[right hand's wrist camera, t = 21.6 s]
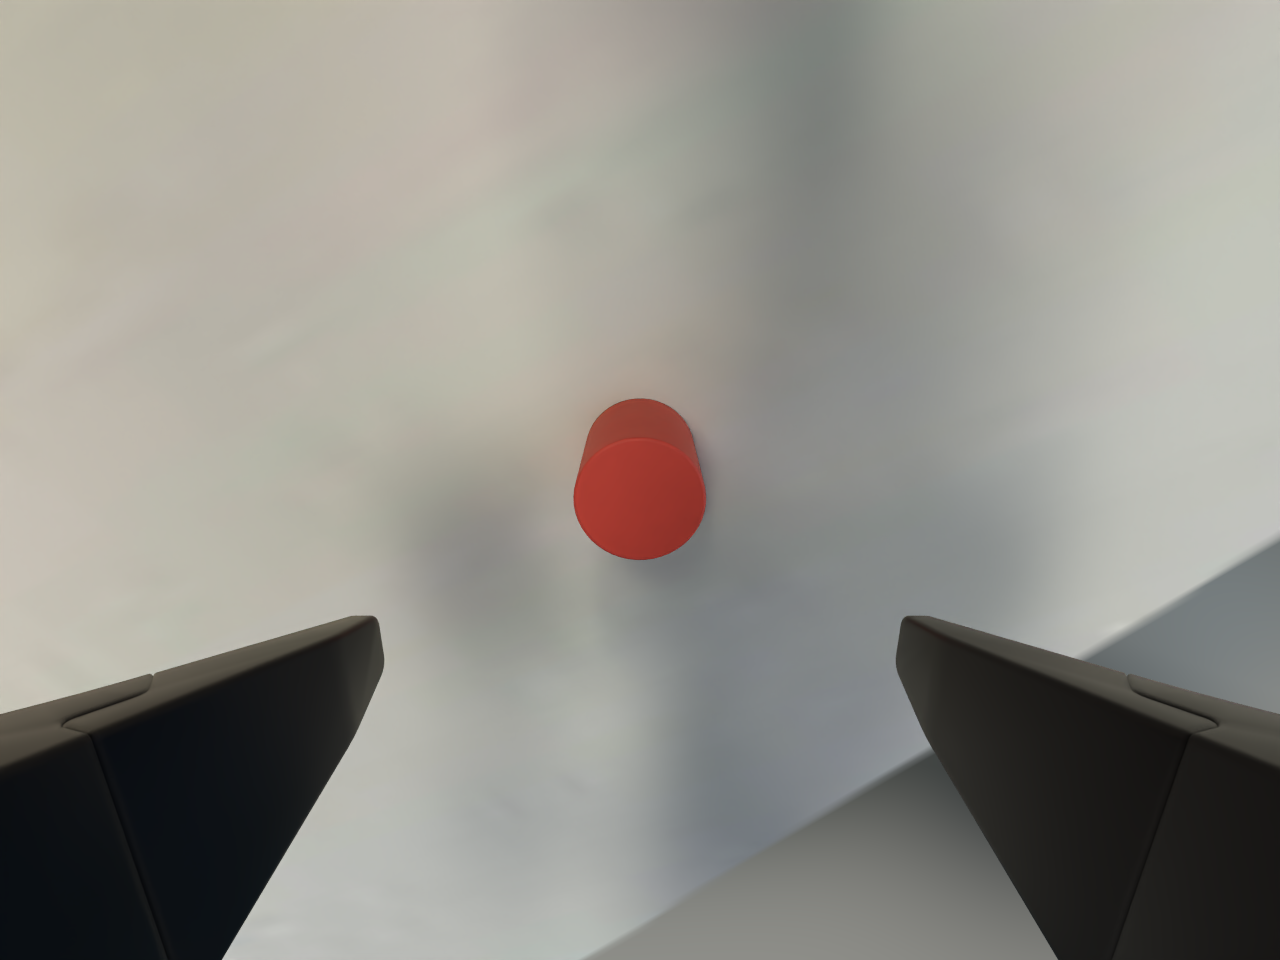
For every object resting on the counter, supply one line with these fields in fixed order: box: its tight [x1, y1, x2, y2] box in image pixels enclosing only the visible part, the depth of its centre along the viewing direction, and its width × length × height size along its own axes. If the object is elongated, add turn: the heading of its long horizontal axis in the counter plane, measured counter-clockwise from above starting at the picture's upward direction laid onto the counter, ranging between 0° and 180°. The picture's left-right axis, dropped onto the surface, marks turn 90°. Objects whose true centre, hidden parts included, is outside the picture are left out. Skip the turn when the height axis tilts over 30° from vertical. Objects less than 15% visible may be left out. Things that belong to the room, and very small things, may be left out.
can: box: [574, 399, 706, 560], centre depth 20 cm, size 4×4×4 cm
